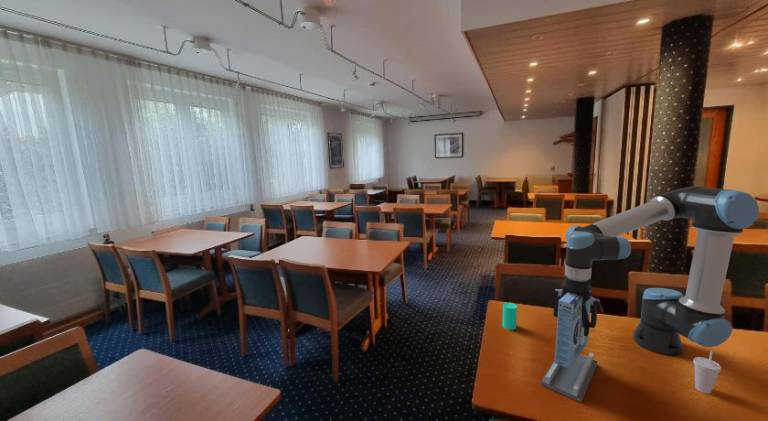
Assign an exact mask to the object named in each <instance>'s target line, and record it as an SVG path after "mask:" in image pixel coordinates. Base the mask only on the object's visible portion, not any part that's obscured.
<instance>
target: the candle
mask: <svg viewBox="0 0 768 421" xmlns="http://www.w3.org/2000/svg"><path fill="white" fill-rule="evenodd" d="M517 314H518V306H517V305H516V304H515V303H513V302H504V303H503V304H502V327H503V329H505V330H507V329H508V331H515V330H516V329H517V320H518V319H517V317H518V315H517ZM514 329H515V330H514Z"/></svg>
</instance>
